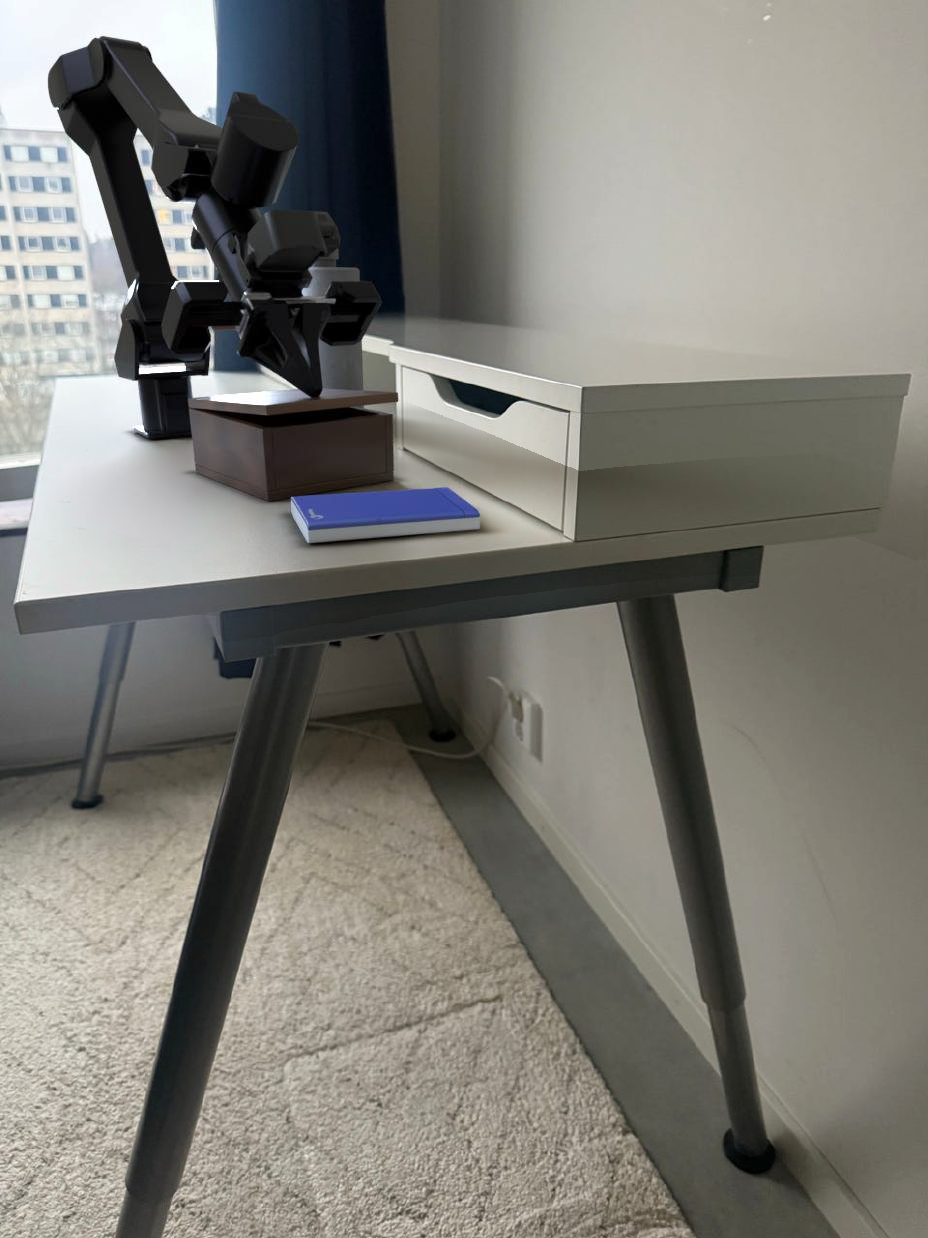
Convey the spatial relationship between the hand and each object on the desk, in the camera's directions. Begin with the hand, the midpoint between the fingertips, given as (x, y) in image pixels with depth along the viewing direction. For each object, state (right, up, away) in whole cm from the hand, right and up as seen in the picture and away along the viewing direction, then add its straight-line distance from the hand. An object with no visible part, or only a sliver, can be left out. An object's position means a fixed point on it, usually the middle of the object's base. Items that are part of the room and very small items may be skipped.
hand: (317, 393), depth 72 cm
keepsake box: (-3, -6, +6) cm, 9 cm away
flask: (-4, +7, +38) cm, 38 cm away
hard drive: (+6, -12, -8) cm, 15 cm away
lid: (-3, 0, +4) cm, 4 cm away
